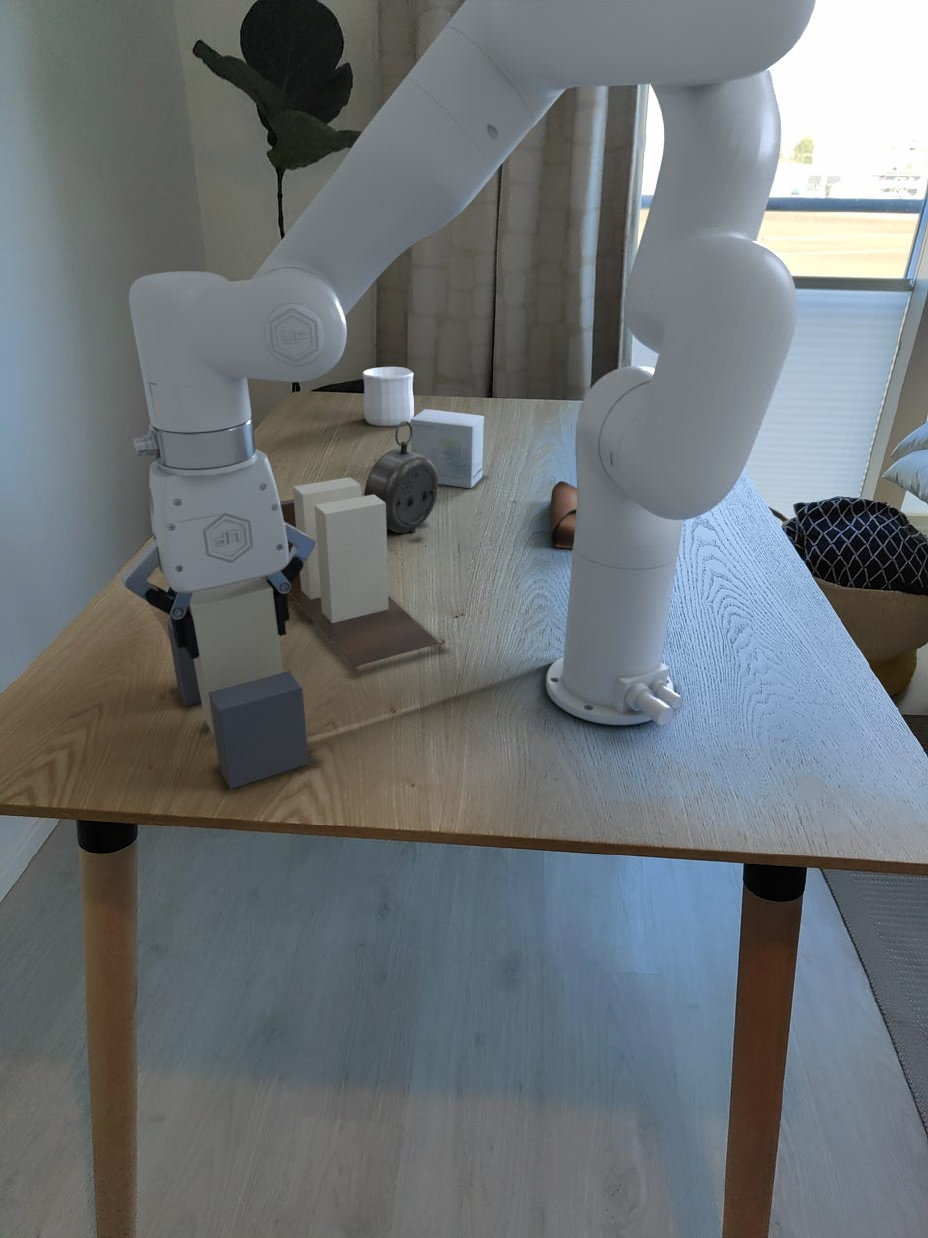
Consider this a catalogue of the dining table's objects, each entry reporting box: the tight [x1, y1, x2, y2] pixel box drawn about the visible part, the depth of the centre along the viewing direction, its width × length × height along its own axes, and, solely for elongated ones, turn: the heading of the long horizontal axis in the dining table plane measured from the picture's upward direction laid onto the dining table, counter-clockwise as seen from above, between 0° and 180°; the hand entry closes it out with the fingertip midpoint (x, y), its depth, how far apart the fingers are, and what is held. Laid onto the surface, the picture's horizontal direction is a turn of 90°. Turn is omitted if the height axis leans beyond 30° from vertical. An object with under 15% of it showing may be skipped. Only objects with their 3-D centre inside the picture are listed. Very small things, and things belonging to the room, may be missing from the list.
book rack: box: [278, 498, 440, 667], centre depth 98 cm, size 28×10×9 cm, turn 30°
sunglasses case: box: [549, 480, 577, 550], centre depth 124 cm, size 18×7×7 cm
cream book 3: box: [315, 495, 389, 623], centre depth 95 cm, size 3×7×13 cm, turn 120°
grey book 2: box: [209, 670, 310, 790], centre depth 72 cm, size 3×7×8 cm, turn 120°
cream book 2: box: [292, 476, 362, 600], centre depth 99 cm, size 3×7×13 cm, turn 120°
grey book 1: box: [166, 619, 202, 707], centre depth 83 cm, size 3×7×8 cm, turn 120°
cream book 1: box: [187, 577, 284, 736], centre depth 76 cm, size 3×7×13 cm, turn 120°
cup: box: [362, 366, 415, 427], centre depth 169 cm, size 10×10×10 cm
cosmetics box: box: [410, 408, 485, 489], centre depth 138 cm, size 10×6×10 cm, turn 71°
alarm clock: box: [363, 421, 439, 535], centre depth 116 cm, size 11×5×16 cm, turn 141°
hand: (234, 638), depth 75 cm, fingers closed on cream book 1, 7 cm apart
